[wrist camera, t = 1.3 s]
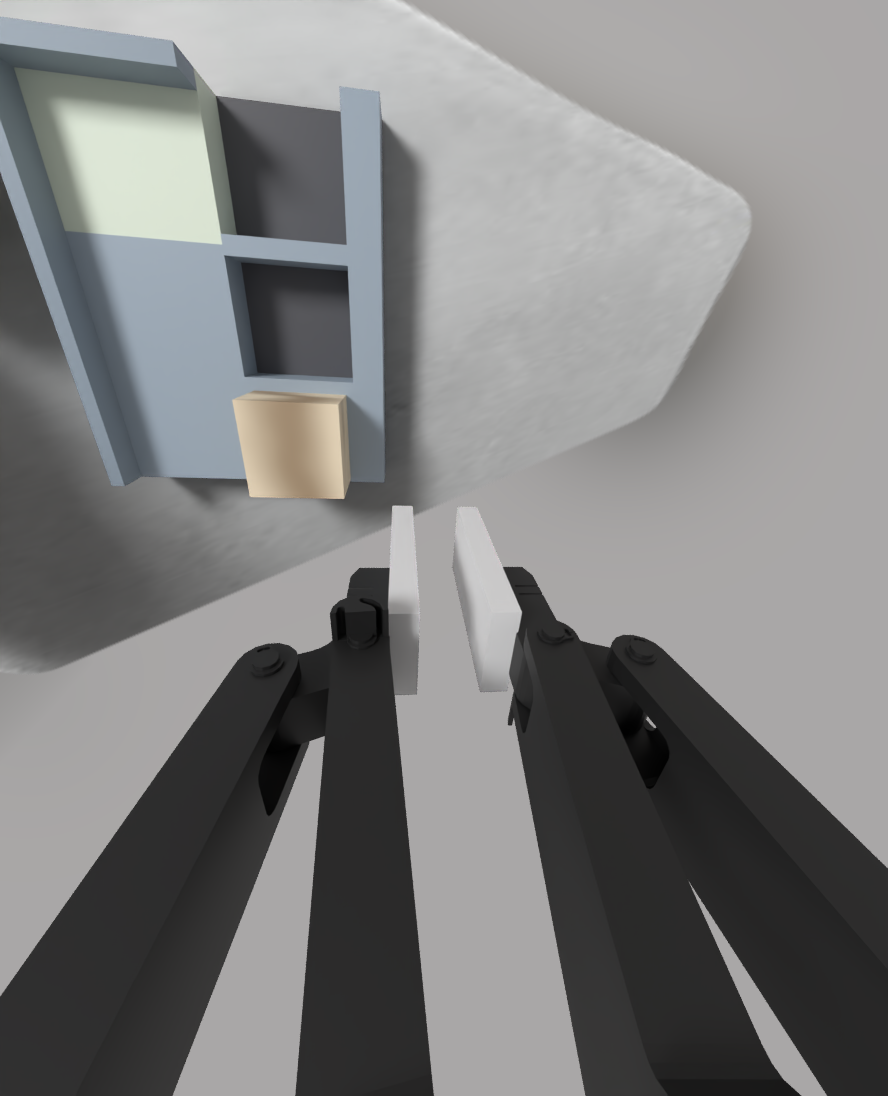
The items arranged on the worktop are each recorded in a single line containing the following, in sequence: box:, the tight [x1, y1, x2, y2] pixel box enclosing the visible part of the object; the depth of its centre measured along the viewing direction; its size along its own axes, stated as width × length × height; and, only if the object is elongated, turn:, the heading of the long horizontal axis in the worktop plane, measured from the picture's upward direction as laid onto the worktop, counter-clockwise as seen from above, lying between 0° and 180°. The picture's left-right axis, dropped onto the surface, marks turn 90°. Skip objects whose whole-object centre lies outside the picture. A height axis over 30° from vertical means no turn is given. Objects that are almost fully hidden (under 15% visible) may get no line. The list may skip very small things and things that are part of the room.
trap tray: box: [0, 17, 385, 486], centre depth 25 cm, size 18×21×5 cm
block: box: [232, 390, 351, 499], centre depth 27 cm, size 6×6×4 cm
